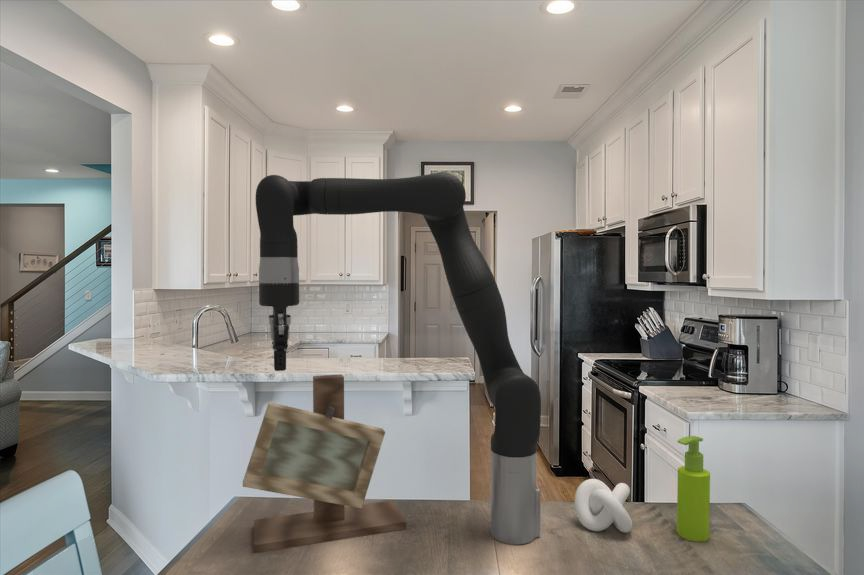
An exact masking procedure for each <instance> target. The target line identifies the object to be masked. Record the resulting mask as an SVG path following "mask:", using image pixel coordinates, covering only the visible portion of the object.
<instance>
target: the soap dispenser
mask: <svg viewBox="0 0 864 575" xmlns="http://www.w3.org/2000/svg"><path fill="white" fill-rule="evenodd" d="M676 441H677V443H678V444H681V445H684V446H688V445H689V449H688V450H687V451H685V452H684V465H682V466H681V465H680V466H679V467H678V468H677V499H676V501H677V504H676V509H677V510H676V512H677V513H676V534H677V535H678V536H679V537H681V538H683V539H684V540H688V541H690V542H691V541H692V542H697V543H699V542H700V543H702V542H707V541H708V540H709V539H710V509H711V508H710V506H711V505H710V504H711V502H710V501H711V500H710V499H711V493H710V492H711V473H710V471H709V470H707V469H705V468H704V454H703V453H701V452H700V449H699V448H700V447H699V446H700V445H699V444H700V442H704V438H702V437H699V436H697V435H690V436H684V437H682V438H680V439H678V440H676Z"/></svg>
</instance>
